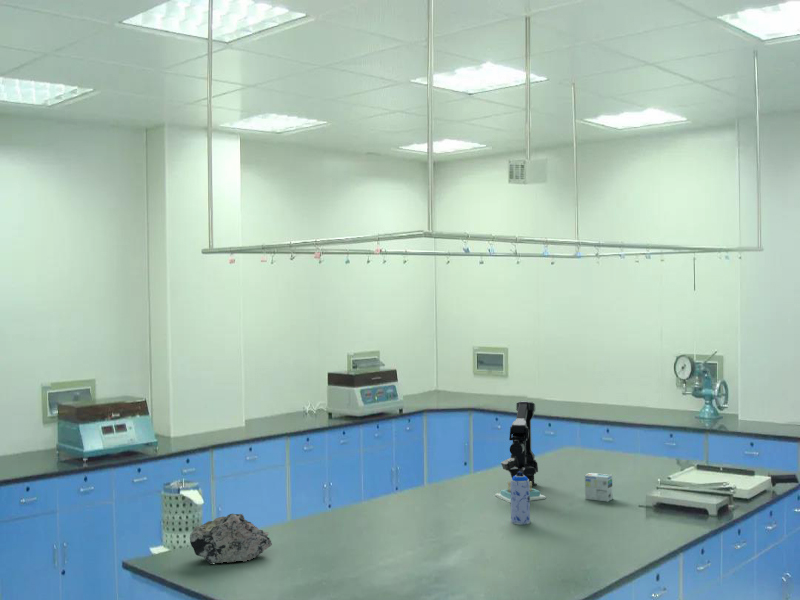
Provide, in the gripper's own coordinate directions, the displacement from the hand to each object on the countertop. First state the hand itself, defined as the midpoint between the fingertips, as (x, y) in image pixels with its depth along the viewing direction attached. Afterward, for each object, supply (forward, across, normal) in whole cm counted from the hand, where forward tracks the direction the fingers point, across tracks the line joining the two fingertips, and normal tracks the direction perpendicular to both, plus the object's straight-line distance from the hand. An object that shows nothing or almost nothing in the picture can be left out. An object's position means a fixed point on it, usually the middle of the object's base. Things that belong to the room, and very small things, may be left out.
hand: (520, 486), depth 373 cm
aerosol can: (+5, +36, -20) cm, 41 cm away
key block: (+4, 0, 0) cm, 4 cm away
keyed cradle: (+5, 0, 0) cm, 5 cm away
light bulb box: (+5, +17, +30) cm, 35 cm away
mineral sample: (+5, +35, -135) cm, 140 cm away
